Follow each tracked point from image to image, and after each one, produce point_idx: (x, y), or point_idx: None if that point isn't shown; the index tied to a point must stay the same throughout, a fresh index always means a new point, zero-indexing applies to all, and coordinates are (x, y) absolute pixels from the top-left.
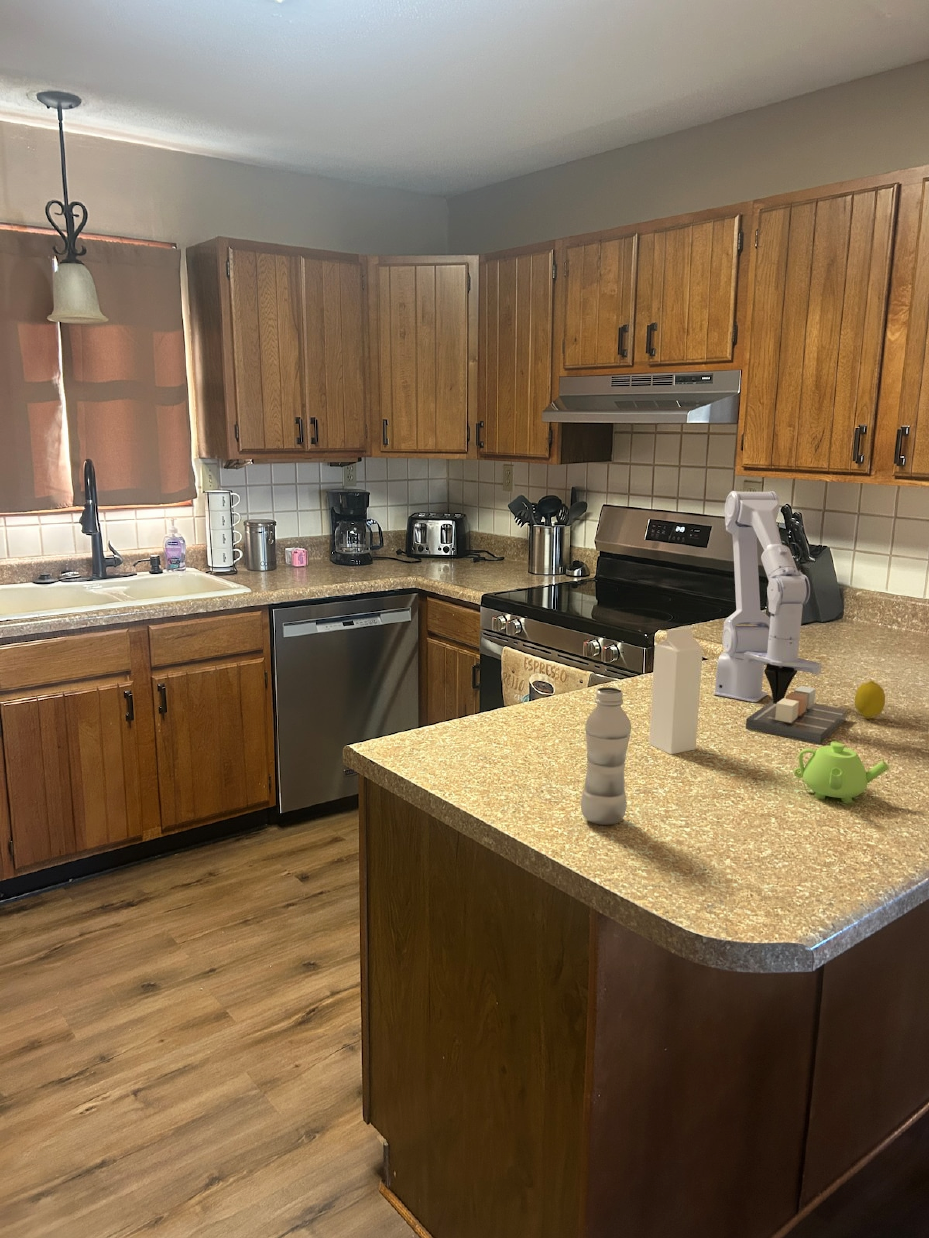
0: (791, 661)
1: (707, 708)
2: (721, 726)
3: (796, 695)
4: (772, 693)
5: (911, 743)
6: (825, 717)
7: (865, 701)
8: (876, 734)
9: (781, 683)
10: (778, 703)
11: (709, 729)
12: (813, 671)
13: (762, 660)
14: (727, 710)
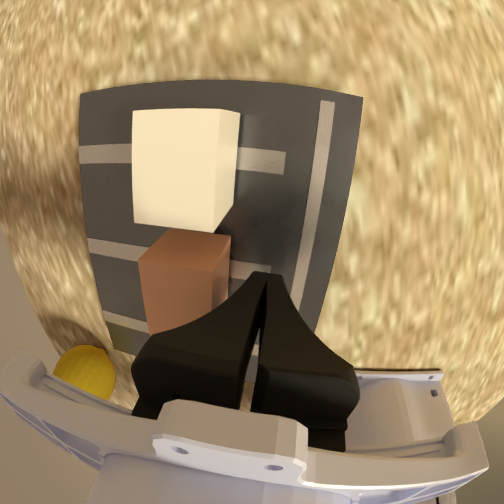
0: (108, 455)
1: (474, 267)
2: (429, 94)
3: (176, 308)
4: (287, 294)
5: (11, 240)
6: (119, 274)
7: (74, 362)
8: (51, 263)
9: (225, 321)
10: (209, 109)
11: (448, 51)
12: (28, 365)
13: (390, 463)
14: (427, 278)
